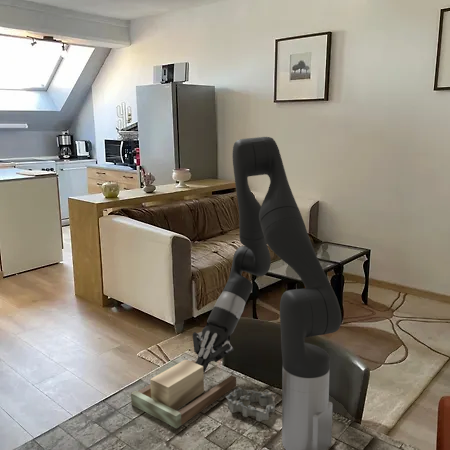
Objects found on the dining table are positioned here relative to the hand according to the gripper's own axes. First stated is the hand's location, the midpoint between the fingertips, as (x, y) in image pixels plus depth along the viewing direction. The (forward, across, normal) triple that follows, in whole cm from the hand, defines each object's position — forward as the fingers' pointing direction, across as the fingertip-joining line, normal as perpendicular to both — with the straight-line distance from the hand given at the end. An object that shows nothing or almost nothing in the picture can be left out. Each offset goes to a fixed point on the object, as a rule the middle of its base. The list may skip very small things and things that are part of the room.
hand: (197, 373), depth 116 cm
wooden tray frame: (+5, 0, 0) cm, 5 cm away
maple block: (+8, 0, -2) cm, 8 cm away
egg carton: (+3, +16, +3) cm, 17 cm away
